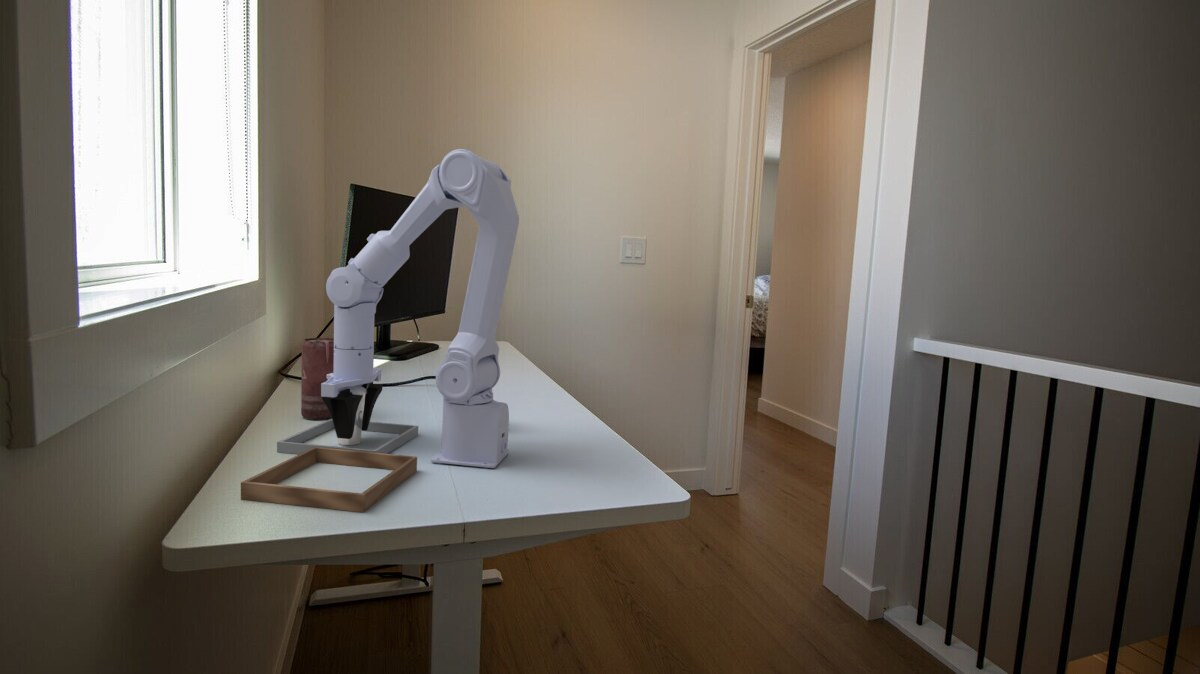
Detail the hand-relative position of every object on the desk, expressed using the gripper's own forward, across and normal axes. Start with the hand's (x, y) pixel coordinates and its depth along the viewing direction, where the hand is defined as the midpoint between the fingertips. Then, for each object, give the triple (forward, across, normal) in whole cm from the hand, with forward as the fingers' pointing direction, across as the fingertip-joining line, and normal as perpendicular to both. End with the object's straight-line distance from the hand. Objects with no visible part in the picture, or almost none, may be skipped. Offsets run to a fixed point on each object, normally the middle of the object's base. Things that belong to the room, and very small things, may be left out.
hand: (352, 433), depth 96 cm
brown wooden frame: (+1, +17, +7) cm, 18 cm away
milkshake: (+2, 0, 0) cm, 2 cm away
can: (+2, -13, -13) cm, 18 cm away
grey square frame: (+1, 0, 0) cm, 1 cm away
